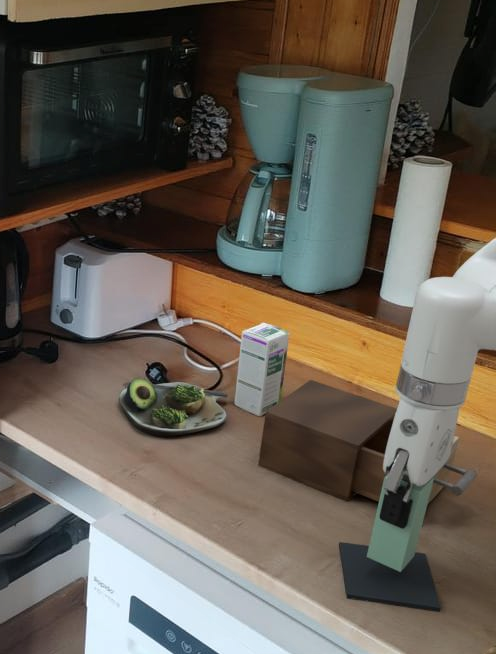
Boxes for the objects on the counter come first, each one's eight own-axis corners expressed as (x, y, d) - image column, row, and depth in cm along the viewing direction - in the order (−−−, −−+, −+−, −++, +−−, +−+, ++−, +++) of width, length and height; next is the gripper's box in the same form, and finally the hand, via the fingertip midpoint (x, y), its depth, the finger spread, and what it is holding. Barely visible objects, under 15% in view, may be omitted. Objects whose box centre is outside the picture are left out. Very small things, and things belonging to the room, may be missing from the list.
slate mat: (424, 556, 121) (425, 553, 120) (440, 611, 111) (441, 607, 111) (338, 545, 123) (339, 541, 123) (346, 598, 113) (347, 594, 113)
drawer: (478, 493, 133) (490, 447, 129) (444, 533, 124) (457, 485, 120) (361, 449, 144) (369, 406, 140) (322, 483, 135) (330, 438, 131)
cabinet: (388, 463, 142) (399, 409, 137) (347, 502, 132) (358, 445, 128) (301, 430, 151) (310, 379, 146) (257, 465, 141) (265, 411, 137)
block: (414, 556, 116) (434, 477, 110) (400, 572, 113) (420, 491, 107) (380, 541, 118) (398, 463, 113) (366, 556, 115) (384, 477, 110)
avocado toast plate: (207, 382, 166) (210, 359, 164) (252, 430, 151) (255, 405, 149) (107, 393, 162) (108, 370, 160) (142, 443, 147) (144, 418, 145)
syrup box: (260, 417, 154) (271, 340, 148) (232, 404, 159) (241, 329, 152) (280, 407, 158) (291, 331, 151) (252, 395, 162) (262, 320, 155)
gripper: (438, 421, 97) (404, 558, 105) (490, 370, 108) (456, 498, 116) (369, 398, 101) (342, 531, 109) (427, 352, 112) (398, 476, 120)
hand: (401, 513), depth 112 cm, fingers closed on block, 4 cm apart
